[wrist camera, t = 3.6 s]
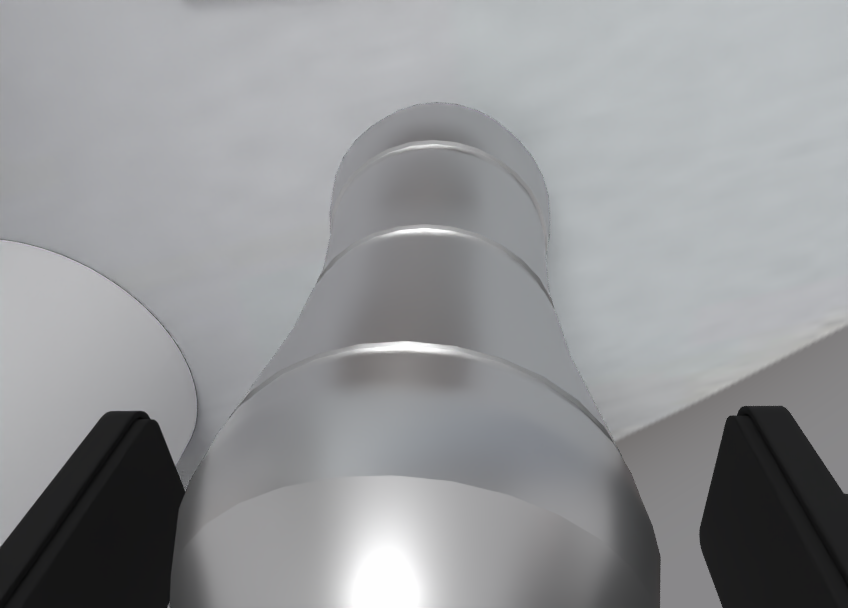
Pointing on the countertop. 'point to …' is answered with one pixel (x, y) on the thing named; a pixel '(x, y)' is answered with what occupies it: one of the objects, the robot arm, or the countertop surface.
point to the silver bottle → (421, 409)
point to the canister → (75, 370)
